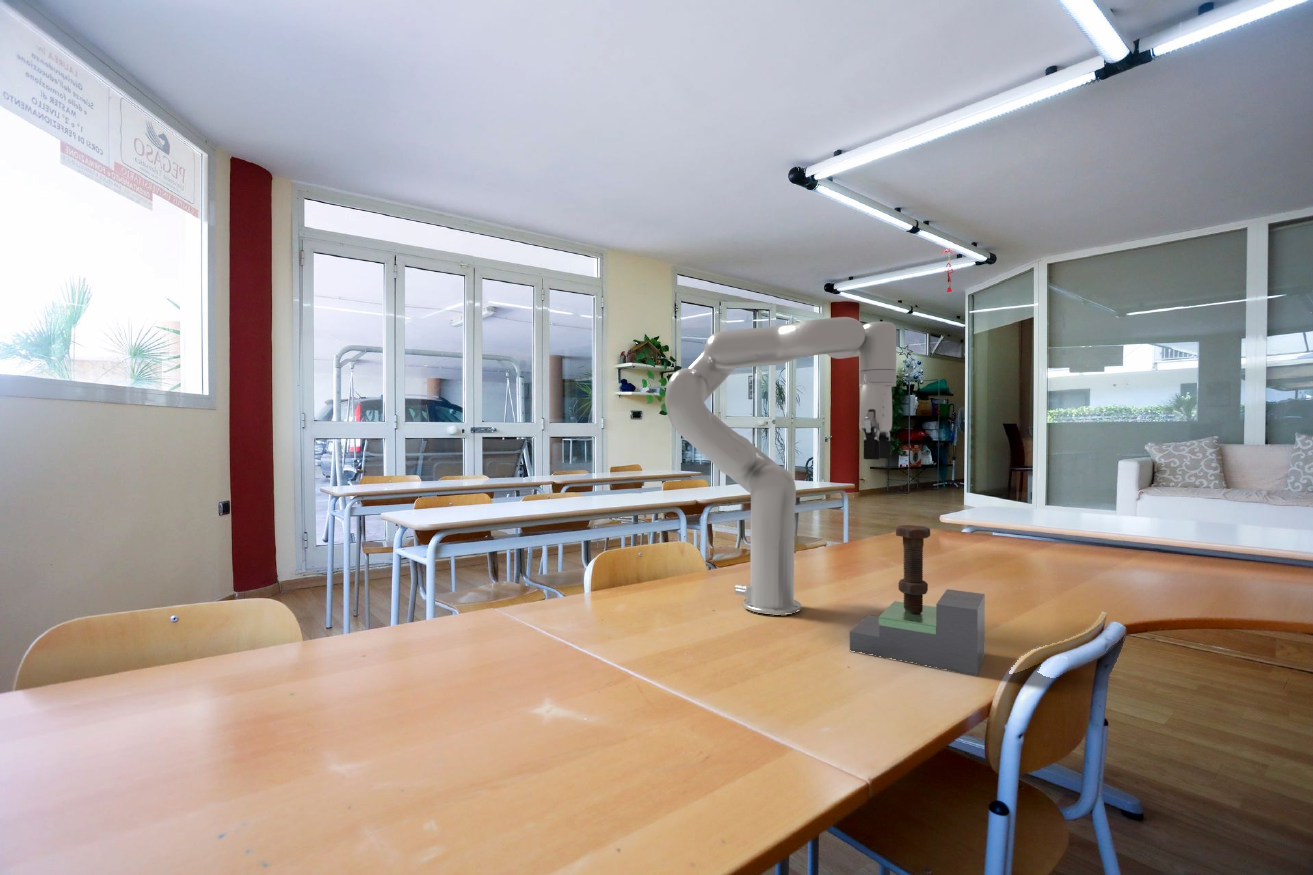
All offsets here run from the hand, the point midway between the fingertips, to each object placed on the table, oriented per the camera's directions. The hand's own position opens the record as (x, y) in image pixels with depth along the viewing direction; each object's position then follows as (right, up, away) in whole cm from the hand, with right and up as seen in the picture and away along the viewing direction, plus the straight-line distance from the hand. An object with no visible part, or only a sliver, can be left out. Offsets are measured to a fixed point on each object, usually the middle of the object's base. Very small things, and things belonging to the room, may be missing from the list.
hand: (877, 458), depth 132 cm
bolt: (-3, -26, -25) cm, 36 cm away
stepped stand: (-2, -33, -25) cm, 42 cm away
